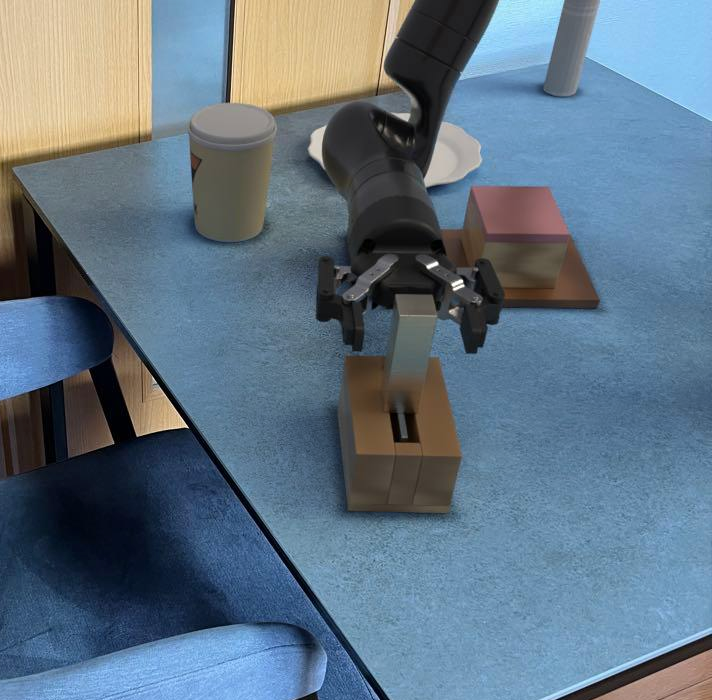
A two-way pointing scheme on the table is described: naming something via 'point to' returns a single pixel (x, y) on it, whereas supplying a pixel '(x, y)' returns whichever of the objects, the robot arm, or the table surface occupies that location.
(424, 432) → the knife block
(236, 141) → the coffee cup
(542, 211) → the cake
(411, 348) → the knife
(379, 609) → the table surface
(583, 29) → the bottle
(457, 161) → the plate
